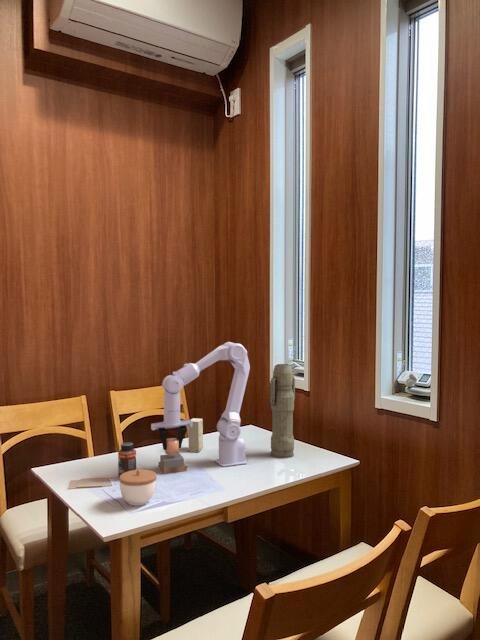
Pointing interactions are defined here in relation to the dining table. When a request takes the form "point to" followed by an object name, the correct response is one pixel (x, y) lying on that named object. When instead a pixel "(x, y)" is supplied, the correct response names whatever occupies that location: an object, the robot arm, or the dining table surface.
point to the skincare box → (196, 435)
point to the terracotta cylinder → (172, 446)
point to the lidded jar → (138, 486)
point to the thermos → (282, 411)
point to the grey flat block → (171, 460)
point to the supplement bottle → (126, 458)
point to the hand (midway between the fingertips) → (172, 448)
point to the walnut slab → (173, 469)
